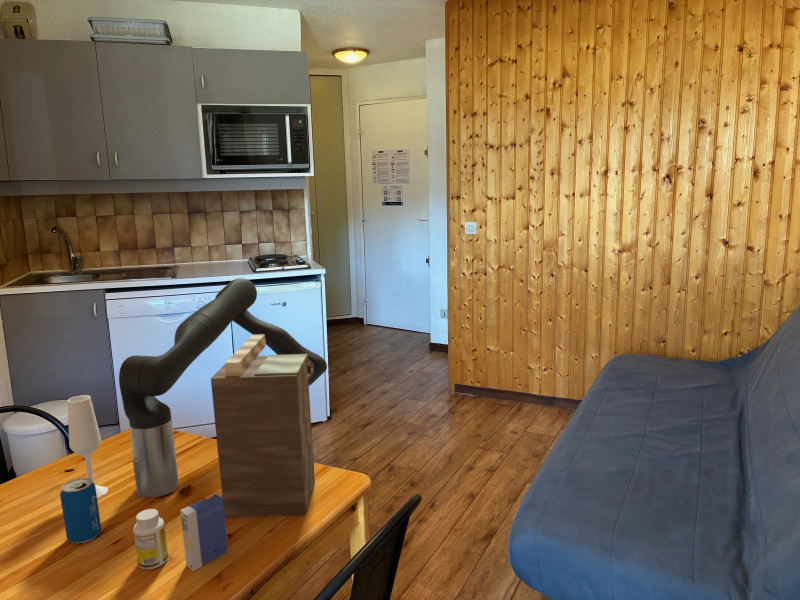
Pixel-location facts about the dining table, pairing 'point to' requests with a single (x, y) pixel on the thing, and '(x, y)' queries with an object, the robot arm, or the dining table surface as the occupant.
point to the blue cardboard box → (204, 531)
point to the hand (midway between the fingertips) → (276, 368)
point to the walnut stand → (265, 437)
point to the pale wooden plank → (245, 355)
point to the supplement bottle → (150, 539)
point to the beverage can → (80, 510)
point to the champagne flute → (84, 433)
